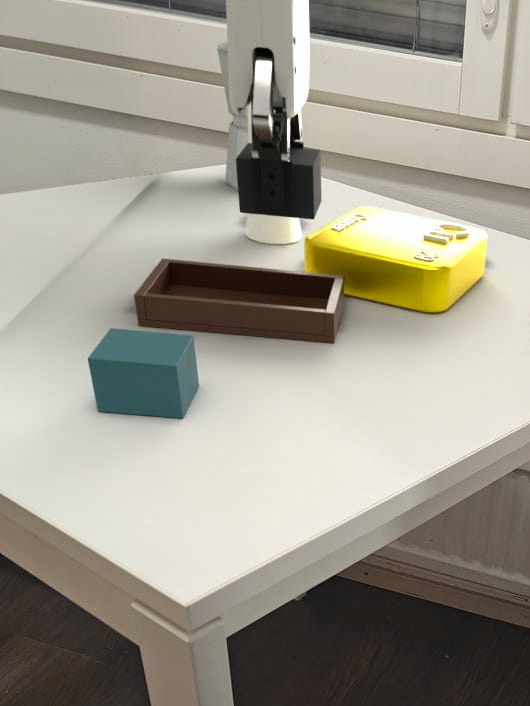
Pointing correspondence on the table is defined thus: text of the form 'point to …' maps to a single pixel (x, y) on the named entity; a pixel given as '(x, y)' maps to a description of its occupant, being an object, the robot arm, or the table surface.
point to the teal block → (144, 373)
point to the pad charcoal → (304, 176)
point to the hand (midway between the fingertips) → (280, 200)
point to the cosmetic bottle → (271, 220)
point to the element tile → (398, 257)
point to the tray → (241, 300)
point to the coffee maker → (232, 123)
